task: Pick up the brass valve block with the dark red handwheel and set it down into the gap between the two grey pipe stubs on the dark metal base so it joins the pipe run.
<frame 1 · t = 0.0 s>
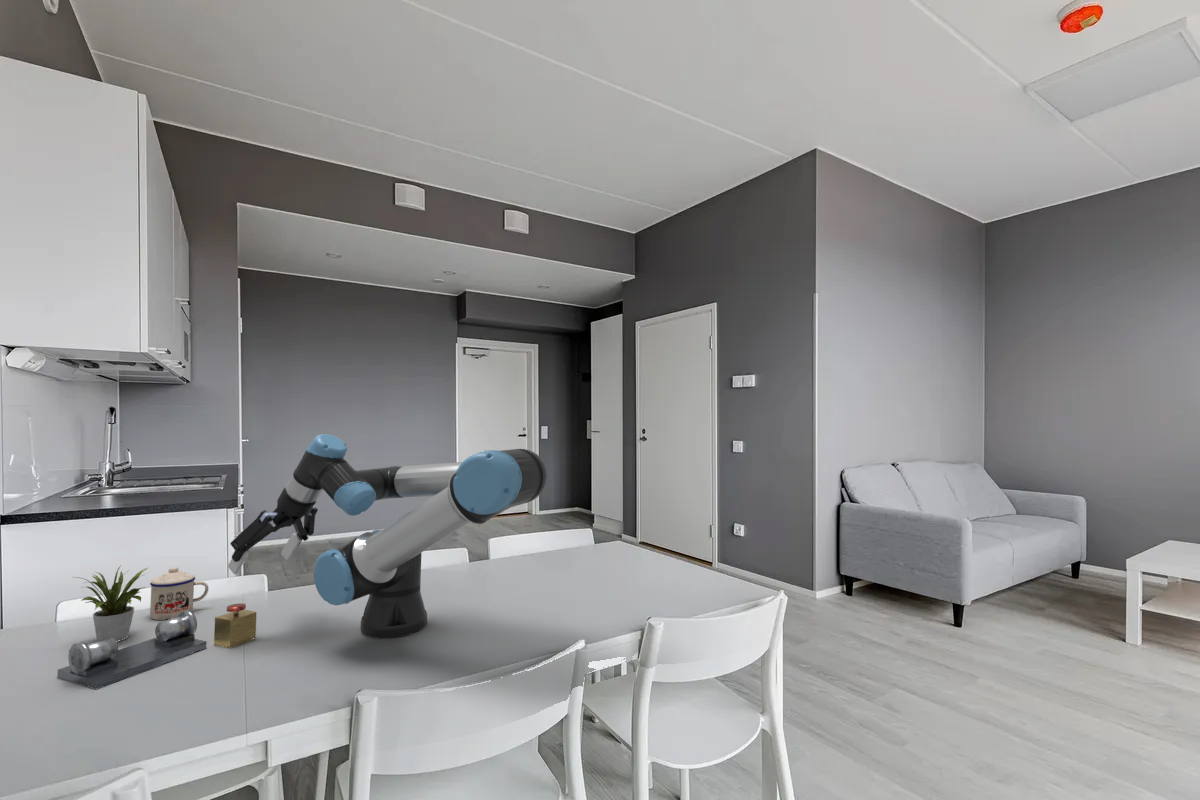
hand: (259, 563, 134), 15 cm above the table, tool tilted 35°, fingers open, 13 cm apart
pipe run: (136, 662, 114), on the table
teacup with lid: (178, 614, 143), on the table
brass valve: (235, 641, 126), on the table
house plant: (105, 642, 125), on the table
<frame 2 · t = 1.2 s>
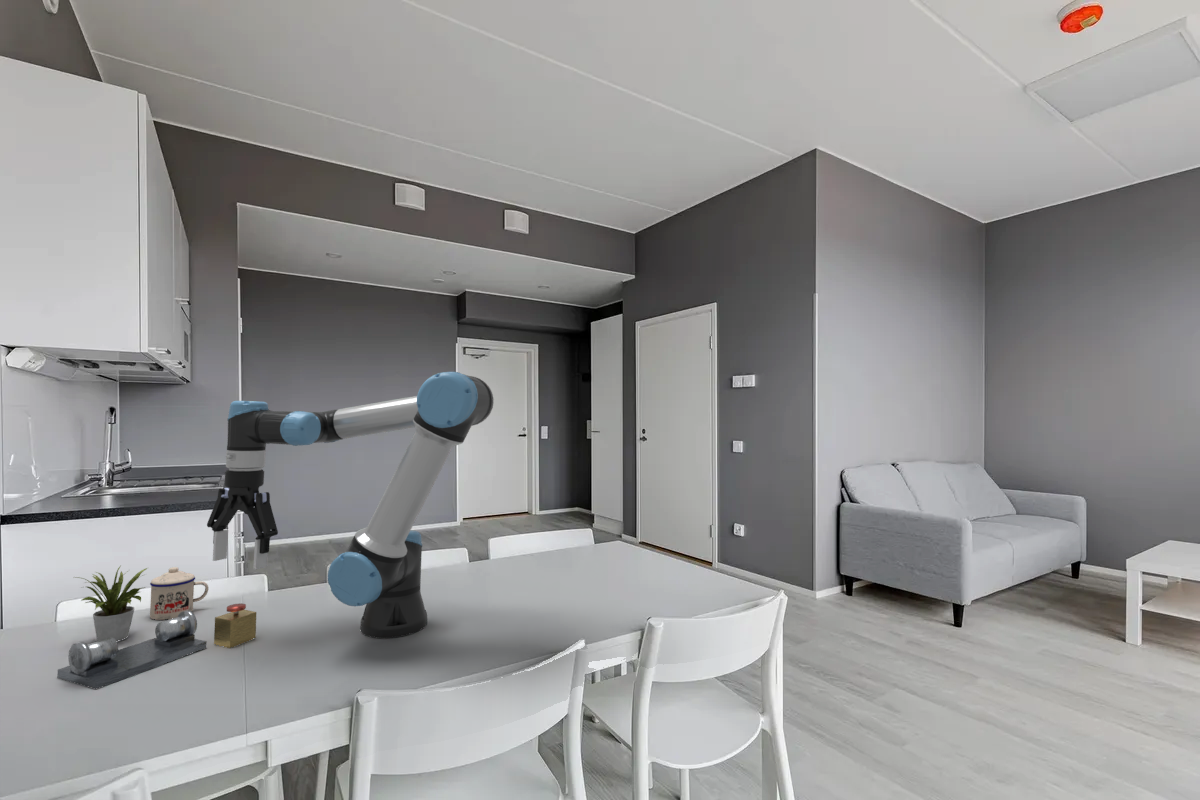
hand: (239, 563, 127), 17 cm above the table, tool pointing down, fingers open, 13 cm apart
nothing on the table moved.
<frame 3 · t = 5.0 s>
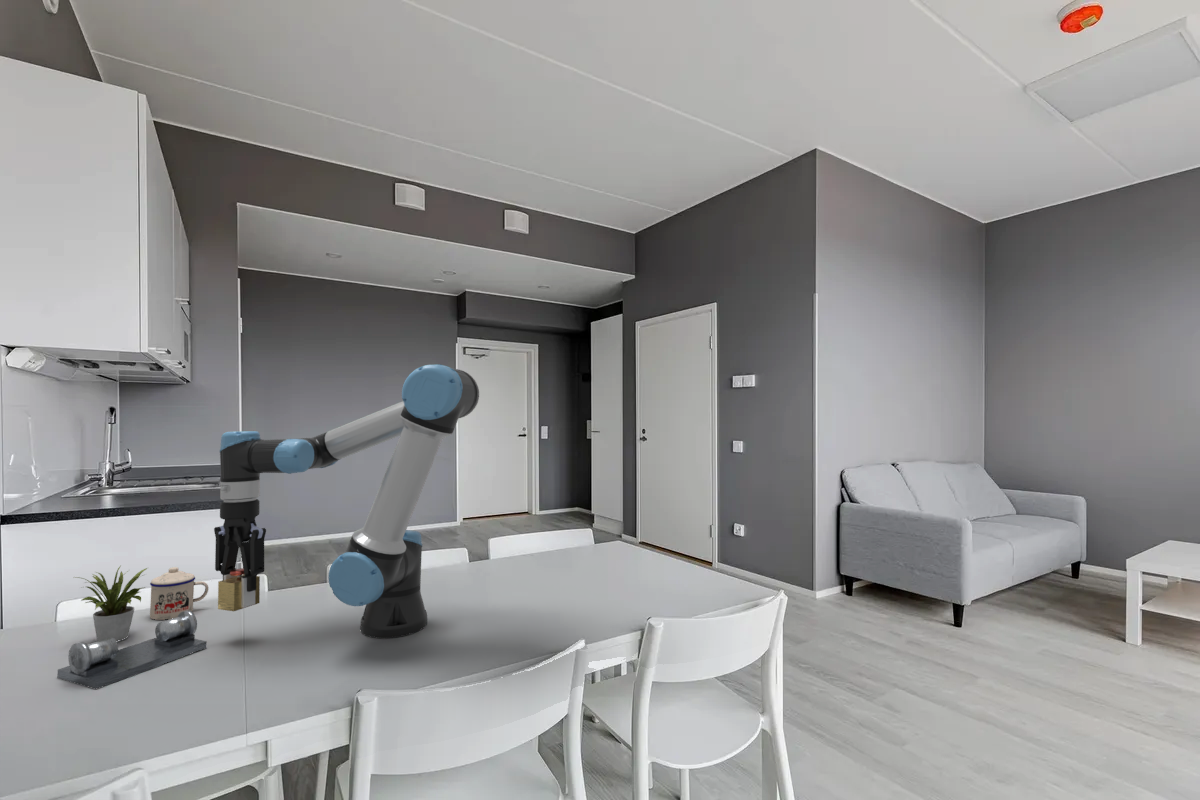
hand: (239, 604, 126), 8 cm above the table, tool pointing down, fingers closed on brass valve, 5 cm apart
brass valve: (239, 606, 126), point 8 cm above the table, touching gripper
everything else where it was.
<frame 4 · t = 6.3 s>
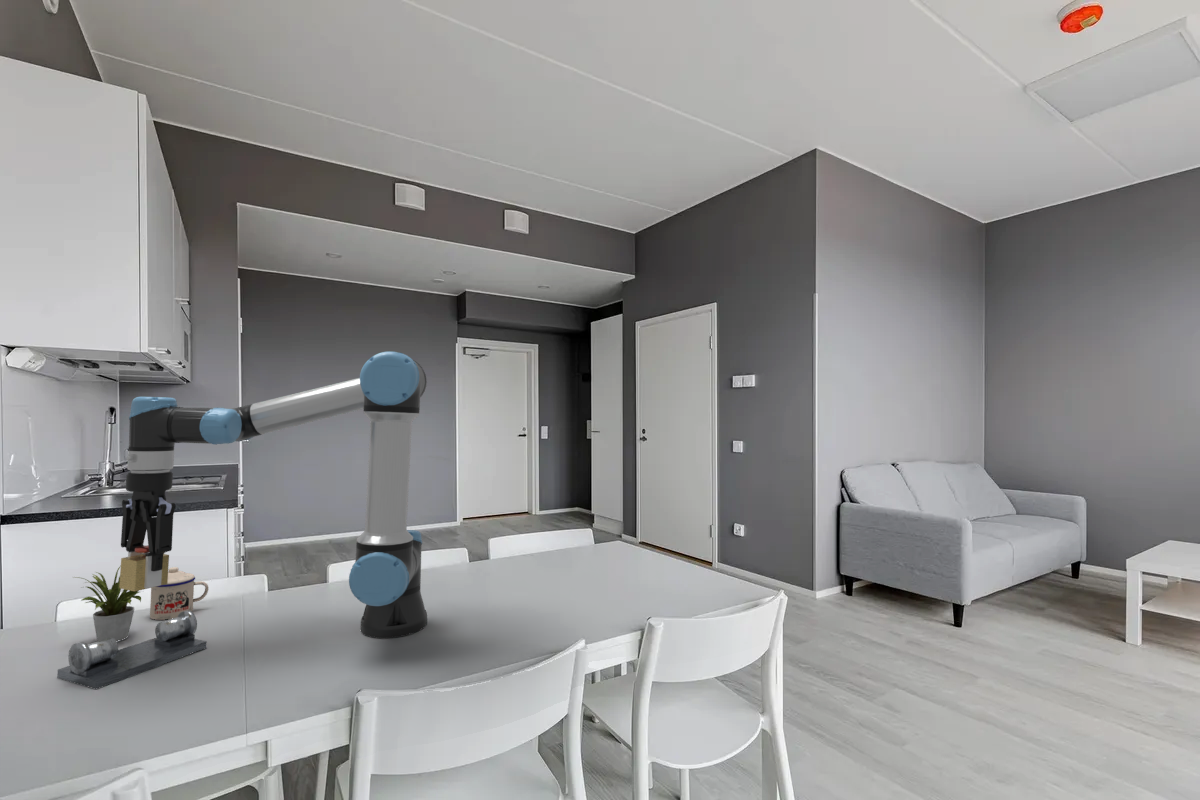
hand: (143, 584, 116), 15 cm above the table, tool pointing down, fingers closed on brass valve, 5 cm apart
brass valve: (143, 585, 116), point 15 cm above the table, touching gripper
everything else where it was.
when the fingers open (2 cm above the table, at t = 7.9 s): brass valve stays where it is, resting on pipe run.
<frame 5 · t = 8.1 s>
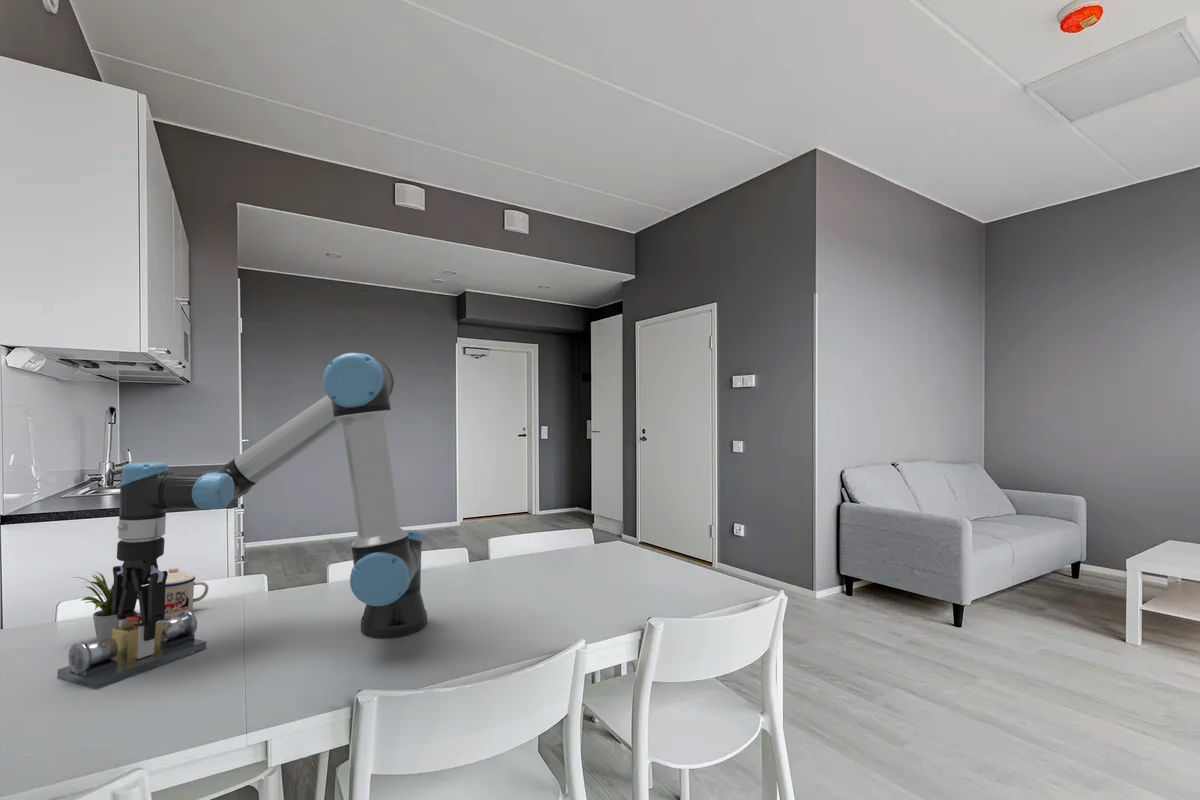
hand: (135, 653, 115), 2 cm above the table, tool pointing down, fingers open, 5 cm apart
brass valve: (136, 654, 115), point 1 cm above the table, touching pipe run
everything else where it was.
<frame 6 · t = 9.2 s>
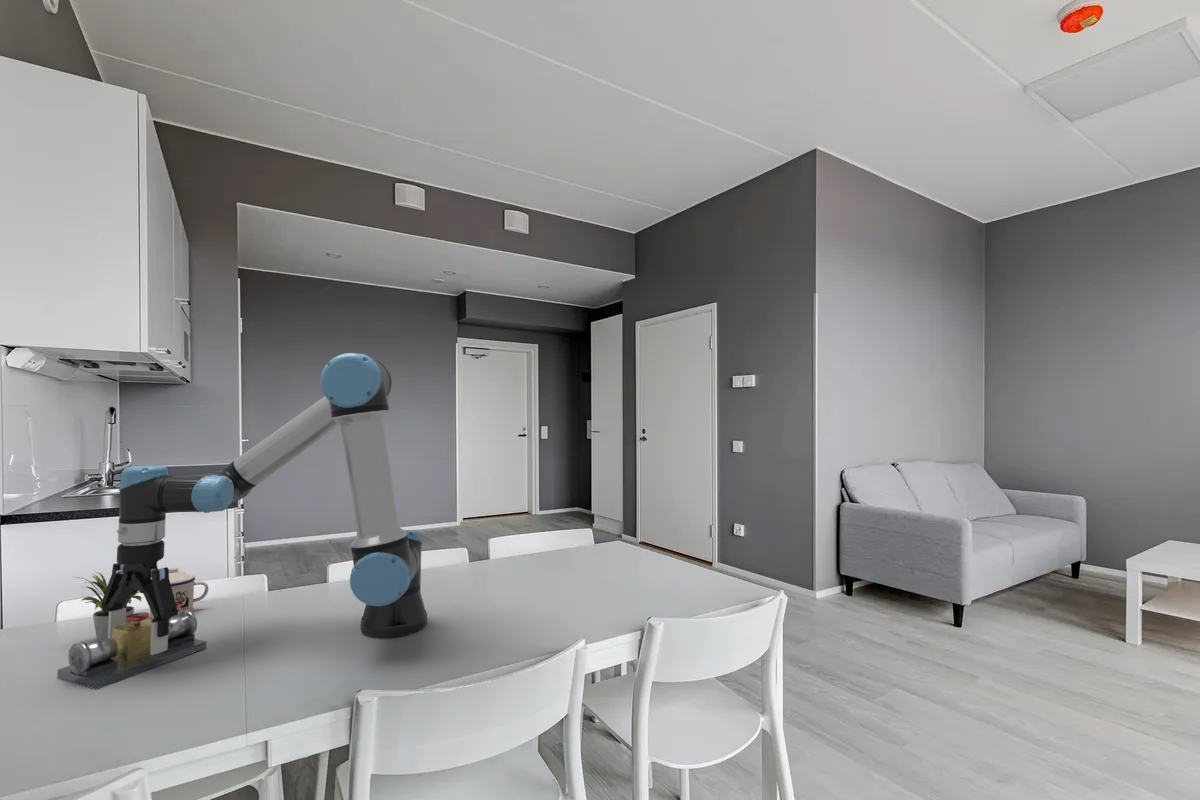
hand: (137, 647, 115), 3 cm above the table, tool pointing down, fingers open, 13 cm apart
nothing on the table moved.
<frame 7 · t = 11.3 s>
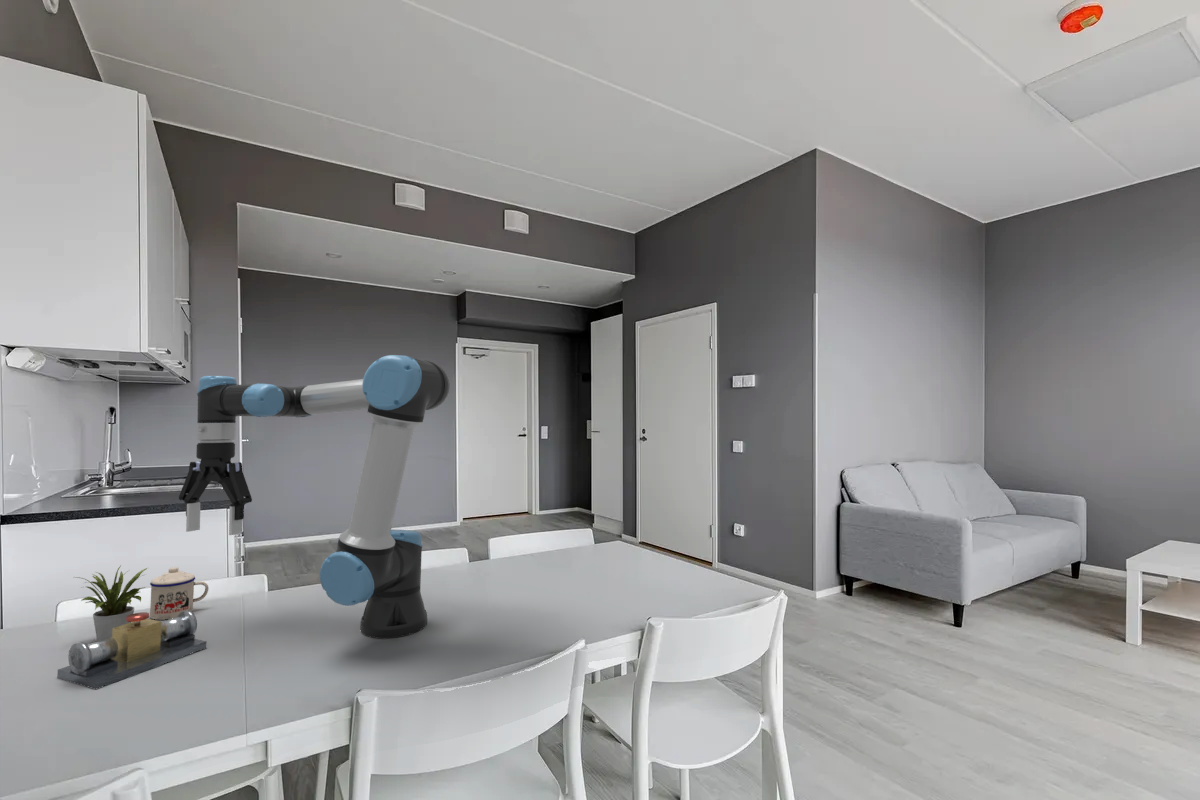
hand: (214, 532, 132), 23 cm above the table, tool pointing down, fingers open, 13 cm apart
nothing on the table moved.
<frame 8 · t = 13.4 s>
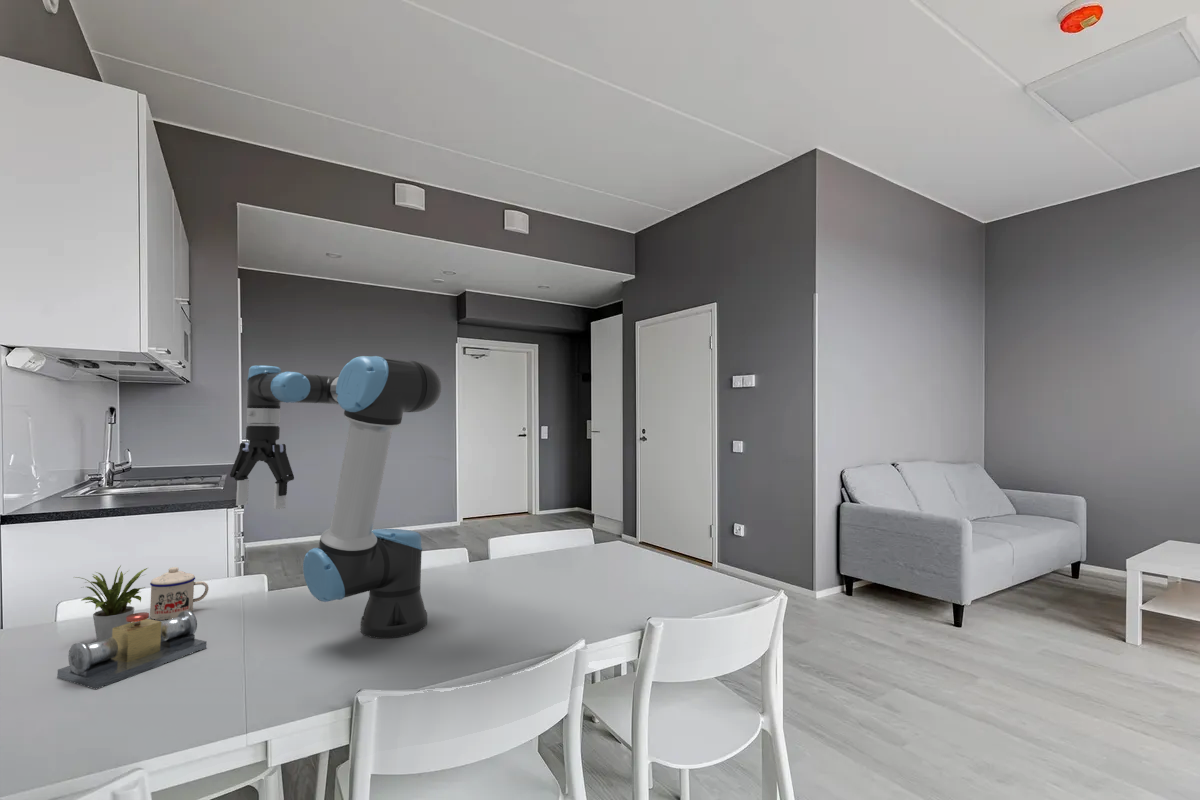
hand: (260, 506, 147), 27 cm above the table, tool pointing down, fingers open, 13 cm apart
nothing on the table moved.
at the end: brass valve 0.1 cm off-centre on the pipe run, point 1.5 cm above the pipe run's base; brass valve tilted 0°; the gripper is holding nothing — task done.
